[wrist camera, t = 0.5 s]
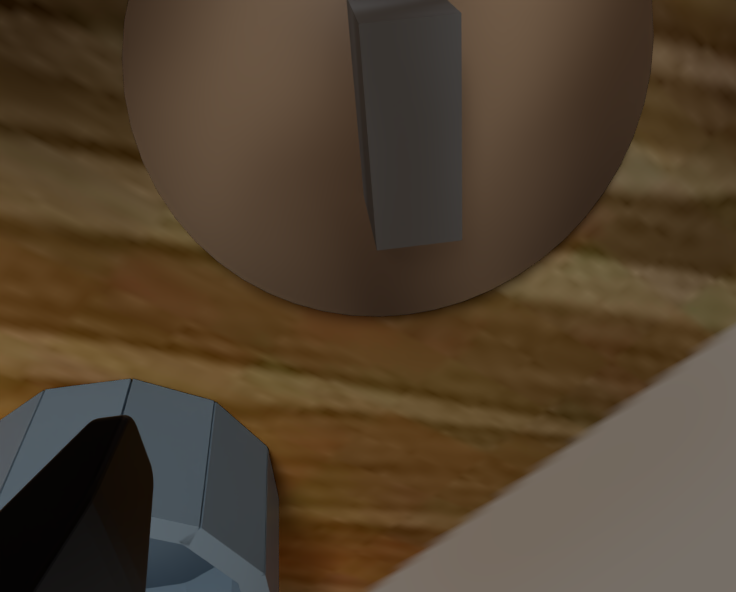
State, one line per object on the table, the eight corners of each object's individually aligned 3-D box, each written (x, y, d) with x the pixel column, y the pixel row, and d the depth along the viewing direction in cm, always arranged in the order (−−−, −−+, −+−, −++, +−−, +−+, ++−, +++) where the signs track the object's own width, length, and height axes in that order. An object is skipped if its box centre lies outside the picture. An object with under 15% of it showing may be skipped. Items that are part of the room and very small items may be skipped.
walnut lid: (673, -250, 15) (786, -276, 12) (606, 271, 22) (665, 347, 19) (56, -195, 14) (-11, -207, 11) (192, 322, 21) (176, 410, 18)
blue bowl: (249, 363, 22) (242, 485, 18) (292, 563, 27) (295, 692, 23) (-77, 405, 21) (-163, 540, 17) (33, 599, 27) (-12, 738, 23)
